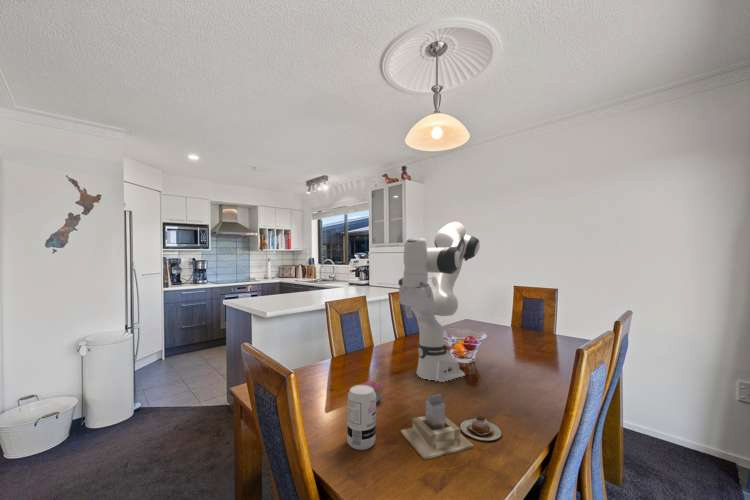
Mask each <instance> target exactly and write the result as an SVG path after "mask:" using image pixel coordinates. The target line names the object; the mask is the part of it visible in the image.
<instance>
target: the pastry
mask: <svg viewBox="0 0 750 500" xmlns="http://www.w3.org/2000/svg"><path fill="white" fill-rule="evenodd" d="M459 428H460V431H462V433H463V434H465V435H466V436H468V437H471V439H473V440H477V441H481V442H488V443H489V441H495V440H498V439H499V438H500V437H502V430H501V429H500V428H499V427H498V426H497V425H496V424H495V423H492V422H489V421H488V420H487V419H486V417H485V416H484V415H481V414H479V415H476V416H475V418H473V419H471V418H470V419H466V420H464V421H462V422H461V423H460V427H459ZM468 428H469V430H470V431H472V432H473V433H474V434H476V435H478V436H487V435H489V434H491V433H492V432H493V436H491V437H487V438H486V437H478V436H475V435H473V434H471V433H470V432H469V431H468Z"/></svg>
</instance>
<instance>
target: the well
mask: <svg viewBox="0 0 750 500" xmlns="http://www.w3.org/2000/svg"><path fill="white" fill-rule="evenodd" d="M400 433H401V435H403V437H404V438H405V439H406V441H407V442H408V443H409V445H411V446H412V447H413V449H414V450H415V451H416V452H417V454H418V455H419V456H420V457H421V459H422V460H423V461H426V460H429V459H435V458H437V457H441V456H445V455H449V454H453V453H457V452H462V451H465V450H470V449H473V448H474V447H475V446H474V444H473V443H472V442H470V440H468V439H467V438H466V437H464V436H463V434H462V433H461V428H460V427H458V426H457V424H456V423H454V422H453V421H451V420H450V419H449V418H448V417H446V416H445V428H442V429H438V430H433V431H432V430H431V429H430V428H429V427H428V426H427V425H426V415H423V416H418V417H413V418H412V427H409V428H405V429H400Z"/></svg>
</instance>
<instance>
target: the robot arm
mask: <svg viewBox="0 0 750 500" xmlns="http://www.w3.org/2000/svg"><path fill="white" fill-rule="evenodd" d="M434 246H435V247H428V245H427V240H426V238H424V237H414V238H412V237H411V238H409V239H407V240H406V241H405V242H404V247H403V264H404V270H403V276H402V277H401V278H399V279H398V280H397V284H398V286H399V287H398V298H399V299H398V300H399V303H400V305H403V306H404V310H405V313H406V318H408V319H412V318H413V314H414V316H415V318H416V320H417V324H418V330H419V331H418V332H419V335H418V336H419V343H418V361H417V362H418V363H417V367H416V373H415V375H416V374H417V375H418V376H419V377H421V378H420V379H422V378H423V379H422V380H425V379H428V380H427V381H430V380H435V381H434V382H437V381H439V382H438V383H441V382H443V383H446V382H445V381H447V382H449V381H448V380H450V381H452V380H451V379H454V378H458V377H461V378H463V377H462V376H466V374H465V372H464V371H463V370H461V369H460V365H459V361H458V359H456V358H455V357H453V356H452V355H451V354H450V353H449V352H448V351H451V350H452V347H451V346H450V345H446V344H444V342H445V341H444V339H445V336H444V335H445V333H444V332H445V331H444V327H443V326H442V324H441V323H440V322H439V321H438V320H437V319H436V316H438V317H439V316H440V317H448V316H450V317H451V316H454V315H455V313H456V312H457V310H458V307H459V301H458V299H457V296H456V295H455V293H454V292H453V291H454V290H453V289H454V286H455V284H456V281H457V279H458V277H459V275H460V273H461V269H462V266H463V261H465V262H467V261H468V260H470V259H473V258H474V257H476V255H477V254H478V253H479V251H480V240H479V239H478V238H477V237H476V236H473V235H468V234H467V231H466V227H465V226H464V225H463V224H462V223H461V222H459V221H452V222H449V223H447V224H446V225H444V226H443V227H441V228H440V229H439V230H438V231H437V232H436V234H435V237H434ZM428 273H431V274H432V273H433V274H432V275H431V283H432V286H433V287H434V289H432V287H431V286H430V283H429V281H428V280H429V279H428V278H429V275H428ZM412 312H413V313H412ZM417 375H416V376H417ZM418 376H417V377H418ZM419 377H418V378H419ZM458 379H459V378H458ZM454 380H455V379H454Z"/></svg>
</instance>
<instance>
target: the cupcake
mask: <svg viewBox="0 0 750 500" xmlns="http://www.w3.org/2000/svg"><path fill="white" fill-rule="evenodd" d="M377 375H378V370H375V373H374V380H366V381H365V382H363V383H362V384H361V385H369V386H371V387H373V388H374V391H375V393H376V403H378V402H379V399H380V396H381V394H383V392H384V386H383V384H382V383H380V382H379V380H378V381H377V377H378V376H377Z"/></svg>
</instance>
